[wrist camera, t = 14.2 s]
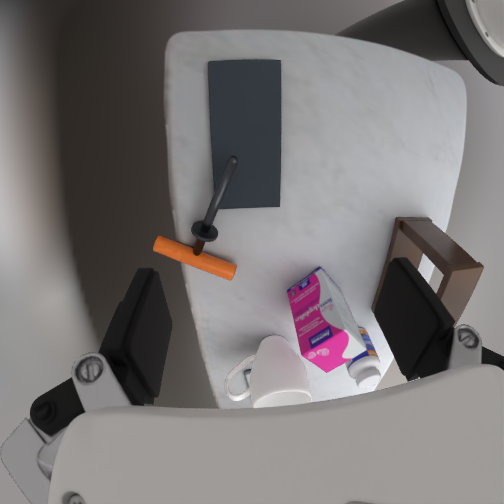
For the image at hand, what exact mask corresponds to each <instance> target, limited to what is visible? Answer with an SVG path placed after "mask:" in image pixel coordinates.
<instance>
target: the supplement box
mask: <svg viewBox="0 0 504 504" xmlns="http://www.w3.org/2000/svg"><path fill="white" fill-rule="evenodd" d="M287 293H288V297H289V301H290V306H291V310H292V314H293V319H294V323H295V328H296V333H297V337H298V342H299V346H300V351H301V355H302V356H303V357H304V358H306V359H307V360H309V361H311V362H312V363H314V364H315V365H316V366H318V367H319V368H321V369H322V370H323V371H325V372H326V373H327V372H329V371H331V370H333V369H335V368H336V367H338V366H340V365H342V364H344V363H345V362H347V361H349V360H351V359H352V358H354V357H356V356H357V355H359V354H361V353H362V352H364V351H366V350H367V348H366V345H365V343H364V341H363V339H362V336H361V334H360V331H359V329H358V327H357V325H356V322H355V320H354V318H353V315H352V313H351V311H350V309H349V307H348V304H347V302H346V300H345V298H344V296H343V294H342V292H341V290H340V289H339V287H338V286H337V285H336V284H335V283H334V282H333V280H332V279H331V278H330V277H329V276H328V275H327V273H326V272H325V271H324V270H323V269H322V268H321V267H319V268H318V269H317V270H315V271H314V272H313V273H312V274H310V275H309V276H308V277H306V278H305V279H303V280H302V281H301V282H299V283H298V284H296V285H295V286H293V287H292V288H290V289H289V290H287Z"/></svg>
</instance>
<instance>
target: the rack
mask: <svg viewBox="0 0 504 504" xmlns="http://www.w3.org/2000/svg"><path fill="white" fill-rule="evenodd" d="M423 253H424V254H425V255H426V256H427V257H428V258H429V259H430V260H431V261H432V262H433V264H434V265H435V266H436V267H437V268H438V269H439V270H440V271H441V272H442V273H443V274H444V277H443V279H442V281H441V284H440V287H439V289H438V291H437V293H436V295H437V296H438V297H439V299H440V300H441V301H442V303H443V304H444V306H445V307H446V308H447V310H448V311H449V313H450V314H451V316H452V317H453V318H454V320H455V323H454V325H453V327H455V326H456V324H457V322H458V320H459V318H460V317H461V315H462V313H463V311H464V309H465V307H466V305H467V303H468V301H469V299H470V297H471V295H472V293H473V291H474V289H475V287H476V285H477V282H478V280H479V278H480V276H481V273H482V271H483V269H484V266H483V265H482V264H481V263H480V262H476V261H475V260H474V259H473V258H472V257H471V256H470V255H469V254H468V253H467V252H466V251H464V250H463V249H462V248H461V247H460V246H459V245H458V244H457V243H456V242H454V241H453V240H452V239H451V238H450V237H449V236H448V235H446V234H445V233H444V232H443V231H442V230H440V229H439V228H438V227H437V226H436V225H434V224H433V223H432V220H431V219H429V218H415V217H396V221H395V226H394V230H393V235H392V239H391V243H390V247H389V251H388V255H387V259H386V262H385V266H384V270H383V273H382V277H381V280H380V283H379V287H378V290H377V293H376V296H375V299H374V302H373V305H372V308H371V310H372V311H373V313H374V308H375V305H376V302H377V299H378V296H379V293H380V290H381V287H382V284H383V281H384V278H385V274H386V271H387V268H388V264H389V262H391V261H392V259H393V258H396V257H407V258H408V259H409V261H410V262H411V263H412V264H413V265H414V267H415V268H416V269H417V270H418V267H419V264H420V261H421V258H422V255H423Z"/></svg>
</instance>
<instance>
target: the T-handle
mask: <svg viewBox="0 0 504 504" xmlns="http://www.w3.org/2000/svg"><path fill="white" fill-rule="evenodd" d="M237 164H238V158H237V157H236V156H230V157H229V158H228V160H227V163H226V165H225V167H224V170H223V172H222V175H221V177H220V180H219V182H218V185H217V187H216V190H215V192H214V195H213V197H212V200H211V203H210V205H209V208H208V211H207V213H206V216H205V218H204V221H198V222H195V223H194V224H193V225H192V227H191V232H192V234H193V235H194V236H195V237H196V238H197V240H196V243H195V246H194V249H193V248H191V247H188V246H186V245H183V244H181V243H178V242H175V241H173V240H171V239H168V238H165V237H163V236H161V235H159V236H158V237H157V239H156V241H155V244H154V248H153V251H155V252H158V253H160V254H163V255H166V256H168V257H170V258H173V259H175V260H178V261H180V262H183V263H185V264H188V265H191V266H193V267H196V268H198V269H201V270H204V271H206V272H209V273H211V274H214V275H217V276H219V277H222V278H225V279H227V280H230V281H231V280H232V279H233V276H234V274H235V271H236V268H237V265H235V264H232V263H230V262H227V261H224V260H222V259H219V258H217V257H214V256H211V255H209V254H206V253H204V252H202V249H203V247H204V244H205V242H211V241H214V240H215V239H216V238H217V236H218V231H217V229H216V228H215V227H214V226H213V225H212V224H213V221H214V219H215V216H216V214H217V211H218V209H219V207H220V204H221V202H222V199H223V197H224V194H225V192H226V190H227V187H228V185H229V183H230V180H231V178H232V176H233V173H234V171H235V169H236V166H237Z"/></svg>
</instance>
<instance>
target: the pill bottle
mask: <svg viewBox="0 0 504 504" xmlns="http://www.w3.org/2000/svg"><path fill="white" fill-rule="evenodd" d="M358 329H359V331H360V334H361V336H362V339H363V341H364V343H365V345H366V348H367V350H366V351H364V352H362V353H361V354H359V355H357V356H356V357H354V358H352V359H351V360H349V361H347V362H345V364H346V367H347V370H348V373H349V375H350V377H352V378H354V379H356V383H357V386H358V388H360V389H366V388H369V387H372V386H374V385H375V384H377V383H378V382H379V381H380V380H381V374H380V372H379V370H378V368H379V366H380V360H379V358H378V355H377V353H376V351H375V349H374V346H373V344H372V342H371V339H370V337H369V335H368V333H367V331H366V330H365V329H363V328H358Z"/></svg>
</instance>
